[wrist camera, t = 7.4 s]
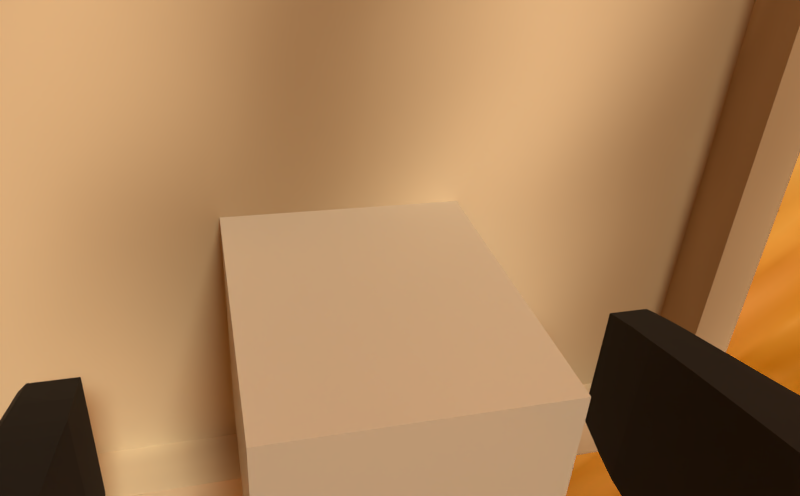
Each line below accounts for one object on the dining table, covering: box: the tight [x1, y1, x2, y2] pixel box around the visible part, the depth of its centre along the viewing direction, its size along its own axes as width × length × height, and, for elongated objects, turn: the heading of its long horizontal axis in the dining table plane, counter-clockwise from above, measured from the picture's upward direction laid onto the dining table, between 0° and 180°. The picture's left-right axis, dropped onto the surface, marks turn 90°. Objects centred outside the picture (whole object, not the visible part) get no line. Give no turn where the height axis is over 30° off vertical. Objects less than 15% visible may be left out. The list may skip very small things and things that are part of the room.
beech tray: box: [0, 0, 800, 496], centre depth 10 cm, size 14×13×2 cm
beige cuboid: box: [220, 201, 591, 496], centre depth 10 cm, size 4×4×4 cm
